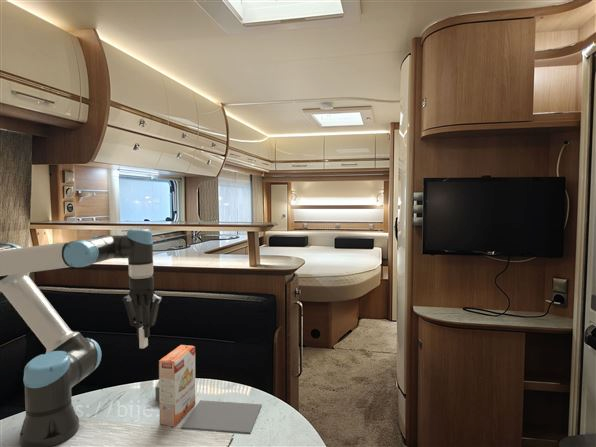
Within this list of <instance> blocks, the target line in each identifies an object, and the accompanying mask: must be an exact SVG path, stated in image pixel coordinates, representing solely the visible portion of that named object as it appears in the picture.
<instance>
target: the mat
mask: <svg viewBox="0 0 596 447" xmlns="http://www.w3.org/2000/svg"><path fill="white" fill-rule="evenodd" d="M262 404H263V403H261V404H260V403H245V402H232V401H231V402H229V401H215V400H203V399H201V400H199V402H198V403H197V404H195V407H194V408H193V409H192V411H191V413H190V414H189V416H188V417H187V418H186V419H185V421H184V423H182V425H181V426H180V429H184V430H185V429H186V430H199V431H201V430H202V431H214V432H222V433H223V432H225V433H239V434H251V433H252V431H253V427H254V426H255V423H256V420H257V418H258V415H259V413H260V410H261V409H262Z"/></svg>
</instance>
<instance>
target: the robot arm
mask: <svg viewBox="0 0 596 447" xmlns="http://www.w3.org/2000/svg"><path fill="white" fill-rule="evenodd" d="M153 246H154V241H153V232H152V230H151V229H149V228H132V229H131V228H130V229H127V231H126V234H124V235H117V234H115V235H113V234H112V235H111V234H109V235H108V234H102V235H101V234H100V235H94V236H92V237H91V238H87V239H79V240H73V241H65V242H57V243H51V244H49V243H48V244H41V245H33V246H27V247H22V246H20V245H18V244H17V243H13V242H12V243H11V242H0V292H1V293H2V294H3V296H5V298H6V299H7V301H8V302H9V303H10V304H11V305H12V306H13V307H12V308H14V309H15V311H17V313H18V315H19V316H20V317H21V318H22V319H23V320H24V322H25V323H26V325H27V327H29V328H30V330H31V331H32V332H33V333H34V334H35V336H36V337H37V338H38V340H39V341H40V343H41V344H42V345H43V346H44V347H45V349H46V350H45V351H46V352H45V353H44V354H39V355H37V356H35V357H34V358H32V359H31V360H30V361H29V362H27V363H26V365H25V366H24V369H23V379H22V381H23V387H24V403H25V404H24V405H25V406H24V407H25V416H24V420H23V423H22V425H21V430H20V433H19V437H18V438H19V445H20V446H21V447H54V446H57V445H59V444H62V443H64V442H66V441H67V440H69V439H71V438H72V437H73V436H74V435H75V434H76V433H78V431H79V428H80V419H79V416H78V415H77V414H76V411H75V408H74V406H73V403H72V401H73V400H72V388H73V387H74V386H76V385H77V384H79V383H80V382H81V381H83V380H84V379H85V378H86V377H88V376H90V375H91V374H92V373H93V372H94V371H95V370H96V369H97V368H98V367H99V365H100V364H101V361H102V350H101V347H100V345H99V343H98V342H97V341H96V340H94V339H93V338H89V337H84V336H83V335H82V334H81V332H79V331H73V330H71V328H70V327H69V326H68V324H67V323H66V322H65V321H64V319H63V318H62V317H61V316H60V313H58V311H57V310H56V309H55V308H54V306H53V305H52V304H51V302H50V301H49V300H48V299H47V297H45V295H44V293H43V292H42V291H41V290H40V288H39V287H38V286H37V284H35V282H34V281H33V280H32V279H31V277H30V273H33V272H34V273H35V272H43V271H49V270H50V271H51V270H58V269H65V268H66V269H67V268H72V267H74V268H84V267H90V266H91V265H93V264H94V265H95V264H98V263H101V262H104V261H108V260H110V259H111V260H112V259H127V261H128V262H127V264H128V276H129V278H128V288H129V291H128V295H125V296H123V297H122V299H121V300H122V302H123V304H124V305H125V309H126V313H127V318H128V321H129V325H130V326H131V327H135V328H136V336H137V338H138V340H139V341H138V343H139V349H145V348H147V347H148V346H149V339H148V338H149V337H150V336H151V329H150V328H151V327H153V326H155V324H156V322H157V317H158V314H159V313H158V312H159V307H160V303H161V301H162V300H163V297H162V296H158V295H157V294H156V292H155V289H154V288H155V287H154V286H155V278H154V277H155V276H153V274H154V253H153V252H154V250H153V249H154V248H153ZM151 302H152V305H151Z"/></svg>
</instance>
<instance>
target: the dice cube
mask: <svg viewBox="0 0 596 447" xmlns="http://www.w3.org/2000/svg"><path fill="white" fill-rule="evenodd" d="M155 402H159V380H157V383H156V385H155Z"/></svg>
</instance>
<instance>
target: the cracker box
mask: <svg viewBox="0 0 596 447" xmlns="http://www.w3.org/2000/svg"><path fill="white" fill-rule="evenodd" d="M158 381H159V401H158V402H159V425H160V426H161V425H162V426H170V427H176V426H177V425H178V424H179V423H180V422H181V420H182V419H184V417H185V416H186V415H187V414H188V413H189V411H190V410H191V409H192V408H193V407H194V406H196V346H194V345H189V344H188V345H186V344H180V345H179V346H177V347H176V348H174V349H173V350H171V351H170V352H169V353H167V355H165V356H163V357H162V358H161V359H160V360H158Z"/></svg>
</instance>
